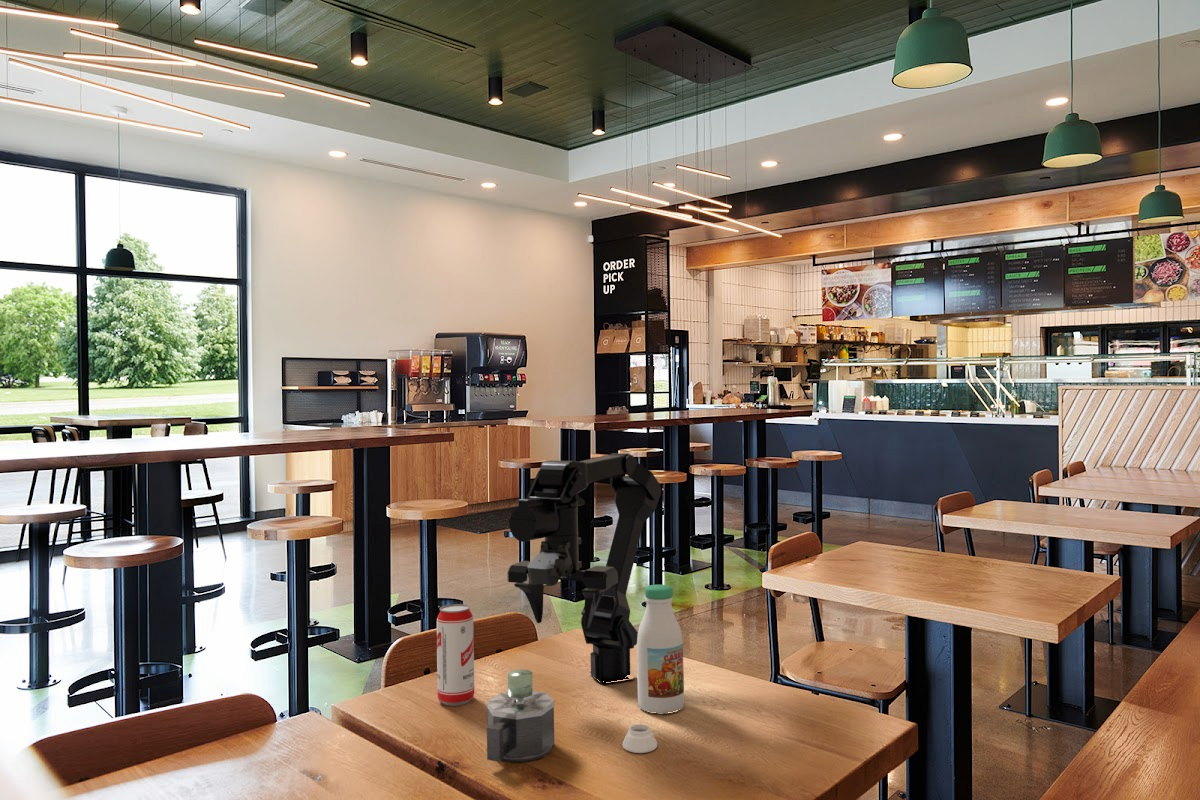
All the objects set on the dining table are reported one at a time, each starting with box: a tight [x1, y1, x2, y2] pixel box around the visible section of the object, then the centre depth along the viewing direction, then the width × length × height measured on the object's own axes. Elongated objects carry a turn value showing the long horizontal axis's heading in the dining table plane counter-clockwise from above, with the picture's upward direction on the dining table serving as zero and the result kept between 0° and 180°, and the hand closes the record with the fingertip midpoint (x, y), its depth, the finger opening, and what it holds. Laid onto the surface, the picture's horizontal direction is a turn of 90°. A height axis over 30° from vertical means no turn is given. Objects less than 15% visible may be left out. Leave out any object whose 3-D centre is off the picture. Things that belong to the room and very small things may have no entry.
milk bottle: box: [636, 584, 685, 713], centre depth 133 cm, size 8×8×20 cm
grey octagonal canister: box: [486, 690, 555, 764], centre depth 116 cm, size 12×9×7 cm
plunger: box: [507, 668, 534, 704], centre depth 117 cm, size 4×4×10 cm
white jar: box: [622, 723, 658, 754], centre depth 117 cm, size 5×3×5 cm
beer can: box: [436, 603, 475, 707], centre depth 138 cm, size 6×6×16 cm
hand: (562, 625), depth 137 cm, fingers open, 9 cm apart
